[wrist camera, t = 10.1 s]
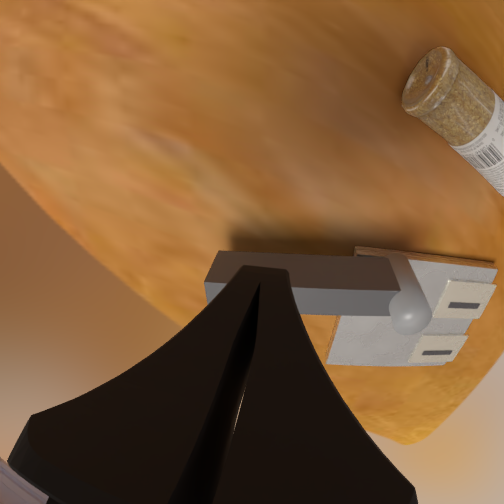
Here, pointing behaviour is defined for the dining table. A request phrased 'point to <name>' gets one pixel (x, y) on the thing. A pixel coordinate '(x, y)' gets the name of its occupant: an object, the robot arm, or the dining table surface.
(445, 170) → the dining table surface
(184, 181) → the dining table surface
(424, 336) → the chassis plate
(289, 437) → the robot arm
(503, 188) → the sprinkles bottle
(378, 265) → the grey knobbed handle
